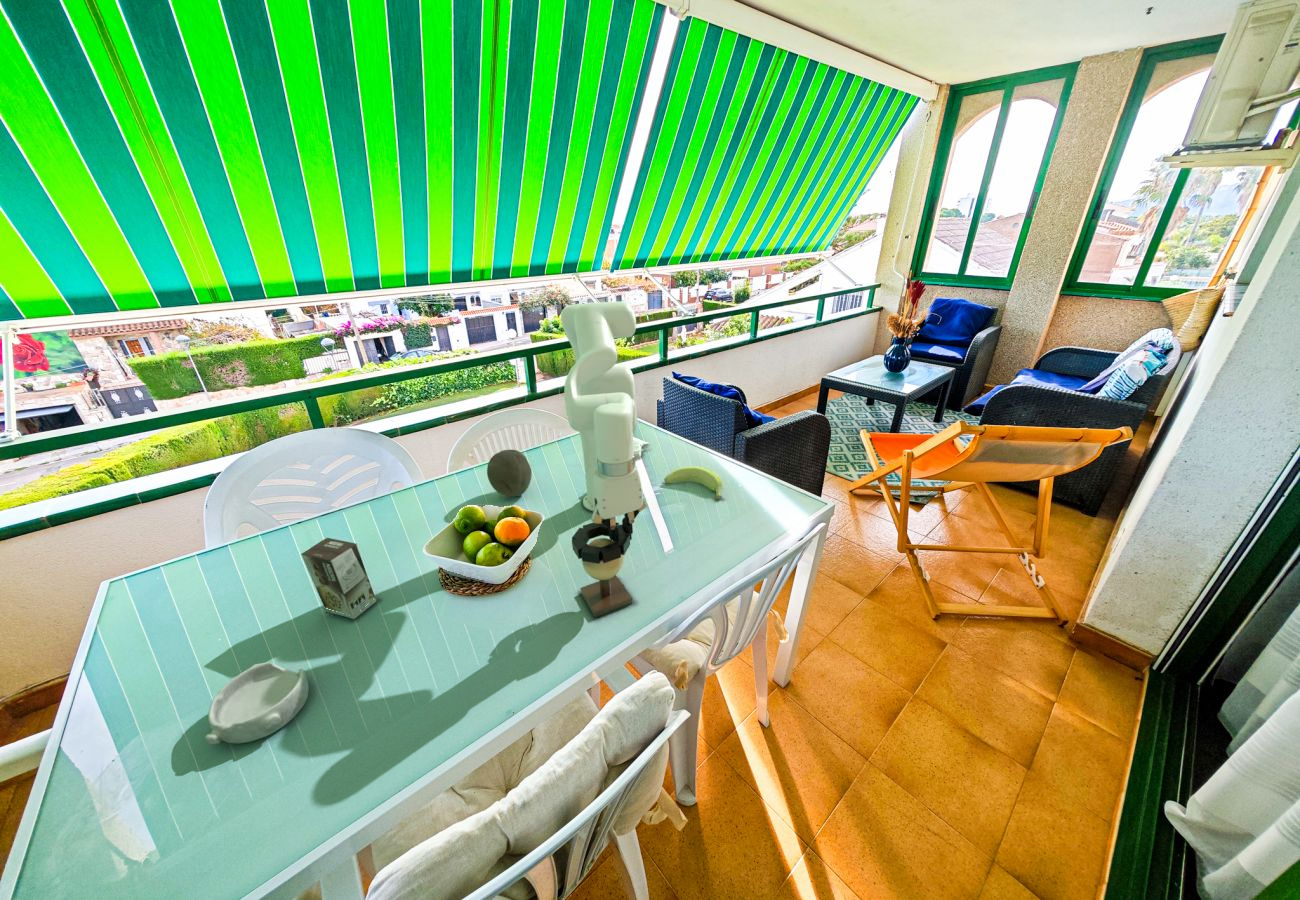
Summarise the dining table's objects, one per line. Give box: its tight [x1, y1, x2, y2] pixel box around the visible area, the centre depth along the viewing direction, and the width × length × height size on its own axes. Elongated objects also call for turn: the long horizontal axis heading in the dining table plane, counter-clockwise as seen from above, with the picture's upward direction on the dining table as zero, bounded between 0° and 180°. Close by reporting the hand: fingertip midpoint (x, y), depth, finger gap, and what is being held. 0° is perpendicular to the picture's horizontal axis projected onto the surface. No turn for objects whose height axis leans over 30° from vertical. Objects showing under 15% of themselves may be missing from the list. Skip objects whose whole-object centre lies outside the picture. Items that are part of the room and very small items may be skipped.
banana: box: [663, 465, 723, 500], centre depth 149 cm, size 14×6×20 cm
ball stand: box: [579, 537, 633, 619], centre depth 102 cm, size 9×9×16 cm
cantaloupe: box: [486, 449, 533, 498], centre depth 147 cm, size 14×14×15 cm
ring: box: [571, 521, 631, 564], centre depth 98 cm, size 12×12×2 cm
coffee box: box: [300, 537, 377, 620], centre depth 102 cm, size 9×6×16 cm
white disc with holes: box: [633, 436, 651, 458], centre depth 179 cm, size 3×18×15 cm
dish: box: [205, 661, 310, 745], centre depth 80 cm, size 14×14×5 cm
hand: (621, 538), depth 101 cm, fingers closed on ring, 2 cm apart
